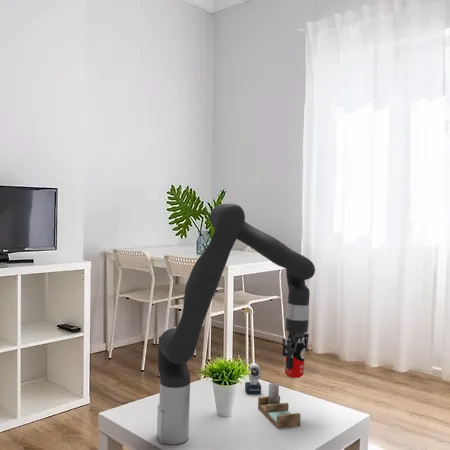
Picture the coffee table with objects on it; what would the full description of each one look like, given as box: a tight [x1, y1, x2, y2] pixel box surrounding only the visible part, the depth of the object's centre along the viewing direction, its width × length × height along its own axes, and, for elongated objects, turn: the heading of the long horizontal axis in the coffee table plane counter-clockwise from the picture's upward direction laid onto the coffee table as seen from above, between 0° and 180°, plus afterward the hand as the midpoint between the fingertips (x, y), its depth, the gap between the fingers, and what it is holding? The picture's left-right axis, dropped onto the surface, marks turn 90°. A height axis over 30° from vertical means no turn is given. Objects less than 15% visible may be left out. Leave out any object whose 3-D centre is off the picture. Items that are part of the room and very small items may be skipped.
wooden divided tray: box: [257, 382, 301, 429], centre depth 175 cm, size 8×17×10 cm, turn 18°
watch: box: [244, 362, 263, 395], centre depth 197 cm, size 6×8×11 cm
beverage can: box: [284, 341, 306, 379], centre depth 172 cm, size 6×6×12 cm
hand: (294, 366), depth 172 cm, fingers closed on beverage can, 6 cm apart
